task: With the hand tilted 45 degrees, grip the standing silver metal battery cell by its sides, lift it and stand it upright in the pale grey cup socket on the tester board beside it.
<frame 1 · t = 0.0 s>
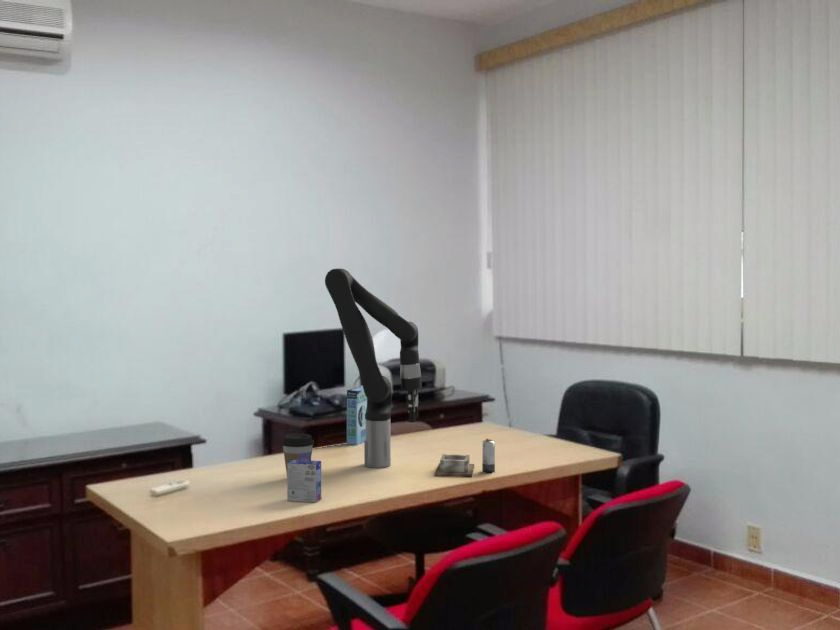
hand: (413, 420, 316), 17 cm above the table, tool pointing down, fingers open, 8 cm apart
battery cell: (488, 471, 308), on the table
coffee cup: (298, 479, 297), on the table
ink cartridge box: (304, 500, 270), on the table
cell holder: (454, 471, 309), on the table
light blue carton: (360, 441, 364), on the table
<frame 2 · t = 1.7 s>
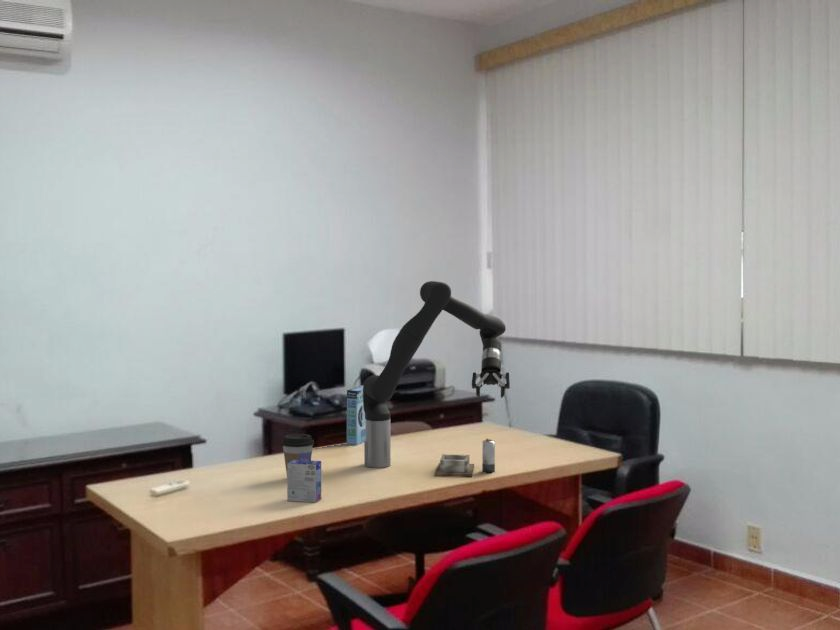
hand: (490, 396, 320), 25 cm above the table, tool tilted 45°, fingers open, 8 cm apart
nothing on the table moved.
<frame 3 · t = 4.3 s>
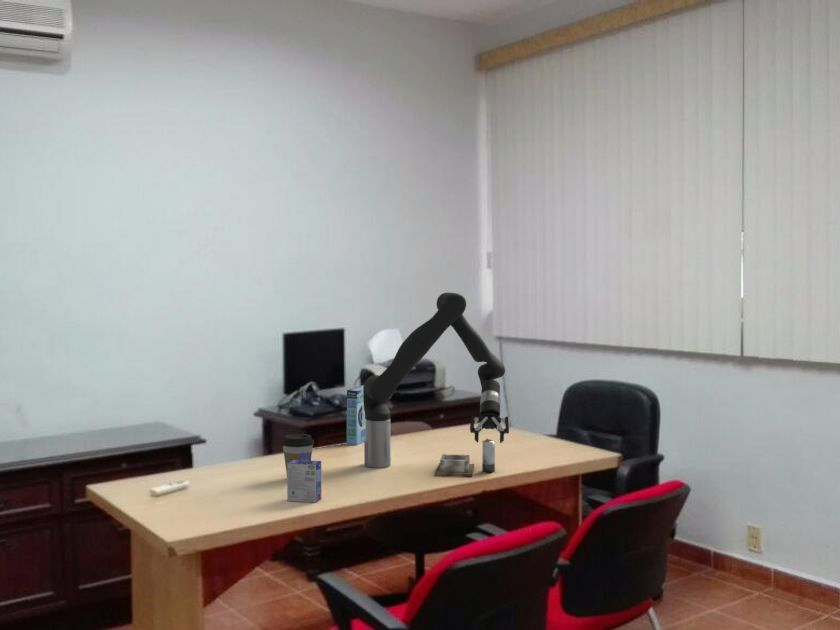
hand: (489, 441, 312), 10 cm above the table, tool tilted 45°, fingers open, 8 cm apart
nothing on the table moved.
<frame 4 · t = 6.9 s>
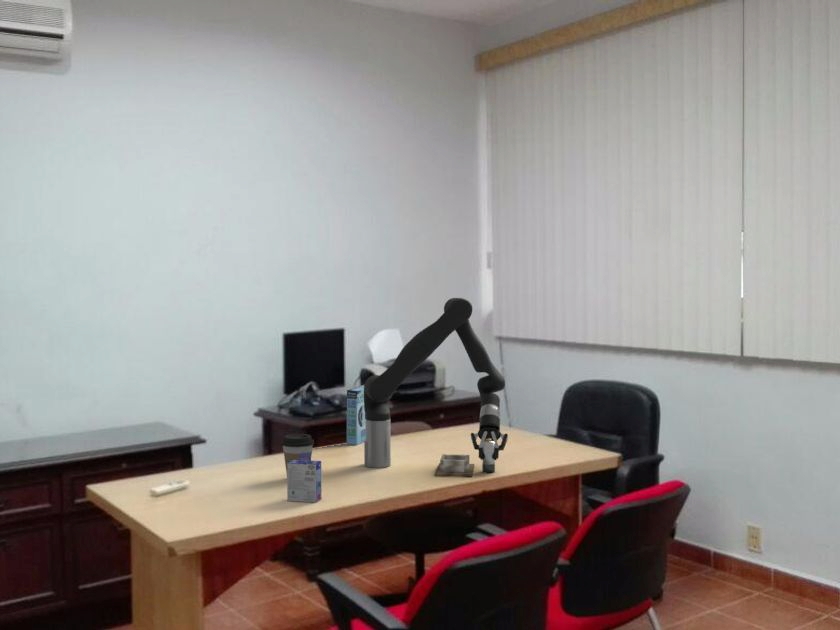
hand: (488, 458, 306), 5 cm above the table, tool tilted 45°, fingers closed on battery cell, 4 cm apart
battery cell: (488, 471, 308), on the table, touching gripper
everything else where it was.
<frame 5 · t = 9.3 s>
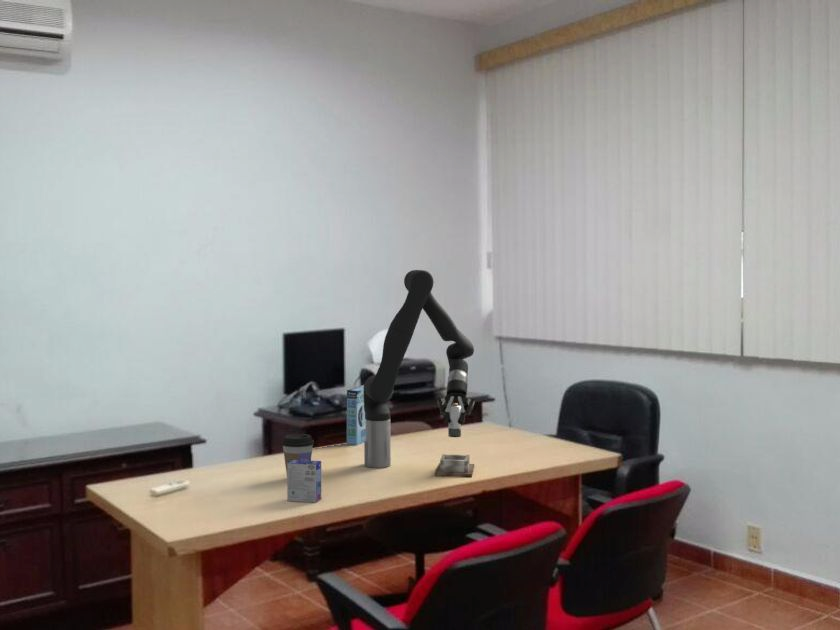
hand: (454, 422, 306), 18 cm above the table, tool tilted 45°, fingers closed on battery cell, 4 cm apart
battery cell: (454, 436, 308), point 13 cm above the table, touching gripper
everything else where it was.
when the fingers open (7 cm above the table, at t = 12.2 s): battery cell stays where it is, resting on cell holder.
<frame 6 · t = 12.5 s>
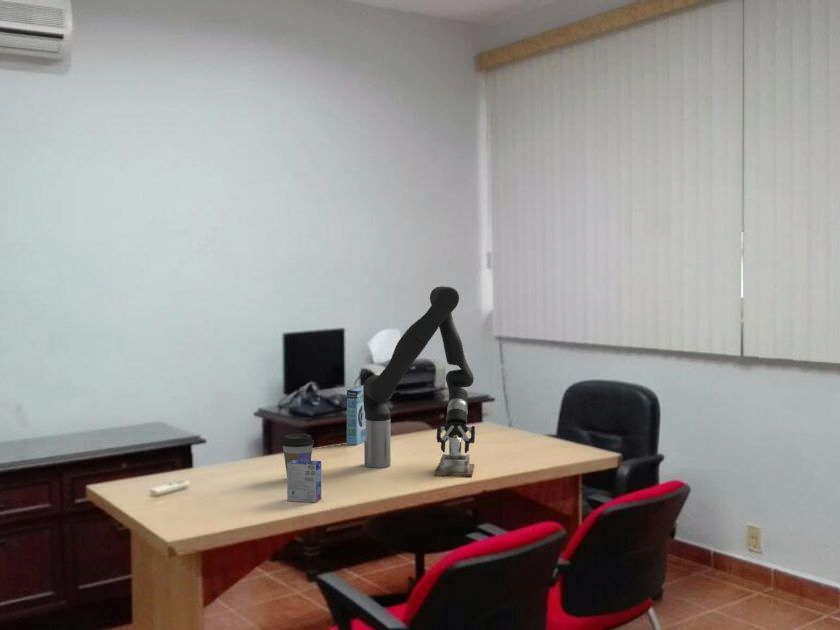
hand: (454, 451, 307), 8 cm above the table, tool tilted 45°, fingers open, 7 cm apart
battery cell: (454, 468, 309), point 1 cm above the table, touching cell holder
everything else where it was.
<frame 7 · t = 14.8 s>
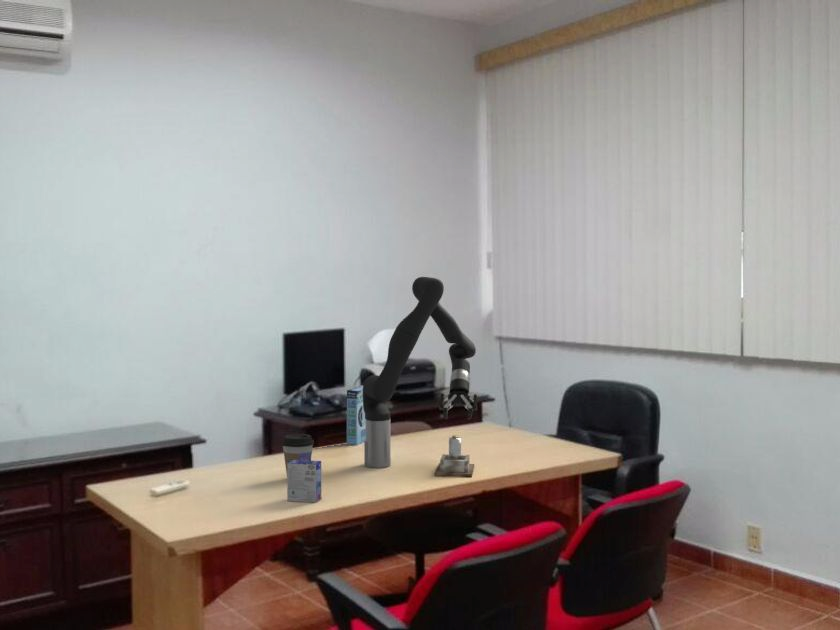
hand: (457, 418, 319), 17 cm above the table, tool tilted 45°, fingers open, 8 cm apart
nothing on the table moved.
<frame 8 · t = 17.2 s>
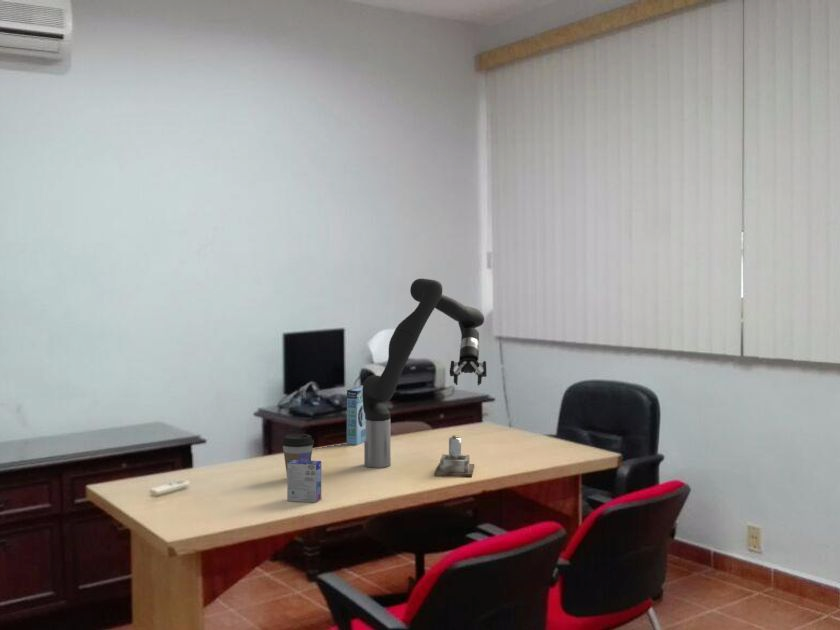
hand: (467, 383, 329), 29 cm above the table, tool tilted 45°, fingers open, 8 cm apart
nothing on the table moved.
at the end: battery cell 0.1 cm off-centre on the cell holder, point 1.0 cm above the cell holder's base; battery cell tilted 0°; the gripper is holding nothing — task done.
